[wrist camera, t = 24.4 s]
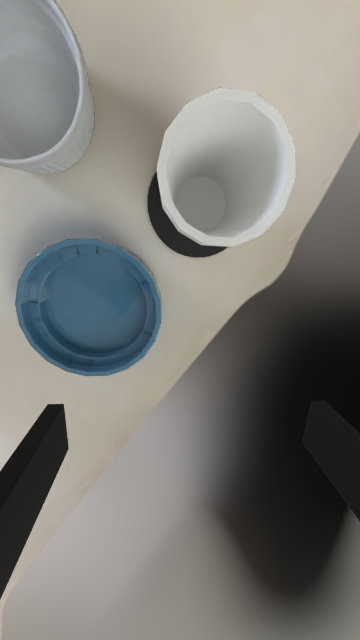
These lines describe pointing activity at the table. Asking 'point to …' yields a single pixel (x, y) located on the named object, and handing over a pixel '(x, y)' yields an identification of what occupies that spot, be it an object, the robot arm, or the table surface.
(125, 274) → the bowl
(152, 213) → the mat
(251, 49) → the table surface
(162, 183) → the foam cup
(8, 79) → the ramekin
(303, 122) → the table surface
